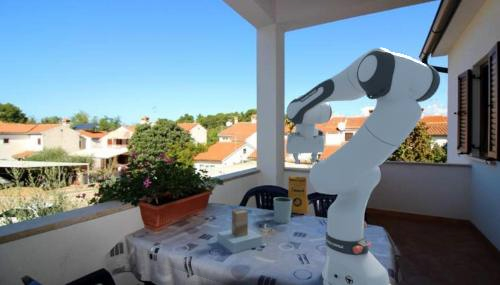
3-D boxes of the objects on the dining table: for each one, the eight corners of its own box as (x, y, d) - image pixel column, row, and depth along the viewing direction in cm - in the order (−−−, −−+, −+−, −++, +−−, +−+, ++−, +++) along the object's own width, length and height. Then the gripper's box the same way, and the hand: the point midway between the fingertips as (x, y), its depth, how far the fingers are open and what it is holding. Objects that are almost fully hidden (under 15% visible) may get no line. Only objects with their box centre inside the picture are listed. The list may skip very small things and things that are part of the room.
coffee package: (307, 216, 151) (307, 178, 150) (286, 213, 155) (286, 177, 155) (309, 211, 160) (309, 175, 160) (289, 209, 165) (289, 174, 164)
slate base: (262, 245, 110) (262, 236, 110) (233, 253, 103) (233, 243, 103) (244, 234, 122) (244, 226, 122) (217, 241, 114) (217, 232, 114)
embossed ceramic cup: (272, 217, 147) (273, 196, 147) (290, 218, 147) (291, 197, 147) (273, 223, 137) (273, 201, 137) (293, 224, 137) (293, 201, 137)
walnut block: (247, 234, 111) (247, 211, 111) (237, 237, 109) (237, 213, 108) (241, 231, 116) (241, 208, 115) (231, 233, 113) (231, 210, 113)
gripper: (292, 131, 107) (292, 165, 108) (326, 132, 118) (326, 162, 119) (282, 132, 113) (282, 164, 113) (316, 132, 124) (316, 161, 124)
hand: (305, 163), depth 116 cm, fingers open, 8 cm apart
